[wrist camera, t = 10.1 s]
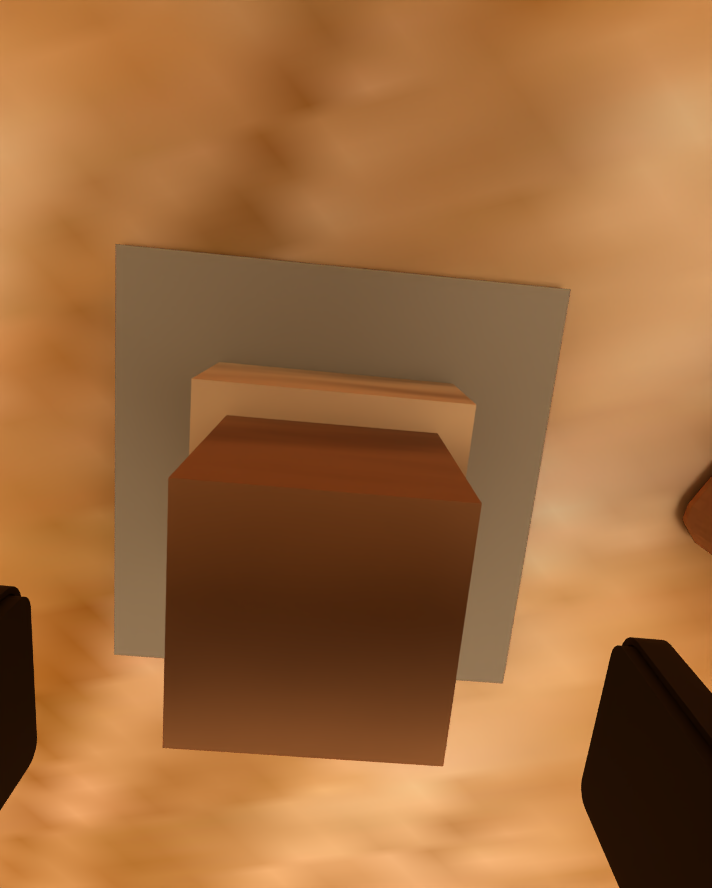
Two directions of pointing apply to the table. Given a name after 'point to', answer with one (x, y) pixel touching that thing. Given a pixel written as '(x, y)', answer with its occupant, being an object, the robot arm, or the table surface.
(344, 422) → the birch base brick
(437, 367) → the grey flat square
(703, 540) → the wooden block
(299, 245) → the table surface
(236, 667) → the walnut cube
